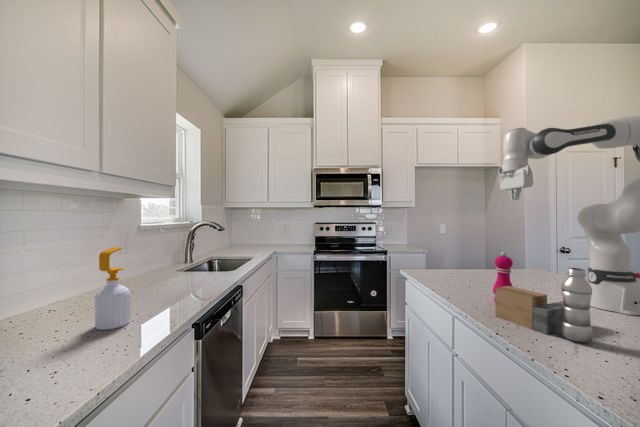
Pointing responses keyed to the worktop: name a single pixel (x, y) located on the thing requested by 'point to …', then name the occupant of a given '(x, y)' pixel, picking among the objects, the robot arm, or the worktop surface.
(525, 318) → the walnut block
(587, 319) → the silver metal bottle
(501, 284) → the pepper mill
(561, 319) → the charcoal board
